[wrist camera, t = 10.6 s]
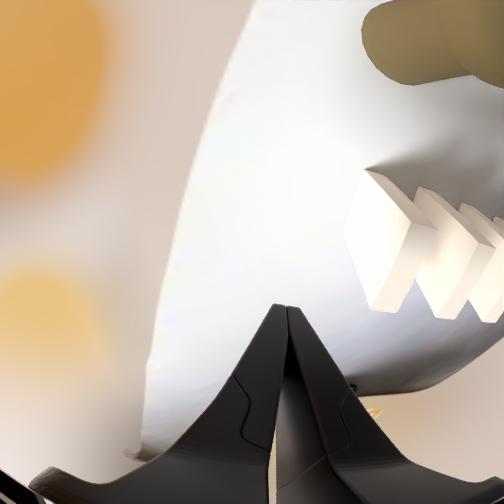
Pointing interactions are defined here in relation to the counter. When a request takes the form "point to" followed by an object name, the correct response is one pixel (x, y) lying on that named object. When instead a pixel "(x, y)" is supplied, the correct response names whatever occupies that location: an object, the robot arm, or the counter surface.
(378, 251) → the domino
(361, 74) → the counter surface
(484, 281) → the domino
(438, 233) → the domino
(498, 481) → the robot arm
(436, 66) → the cork
